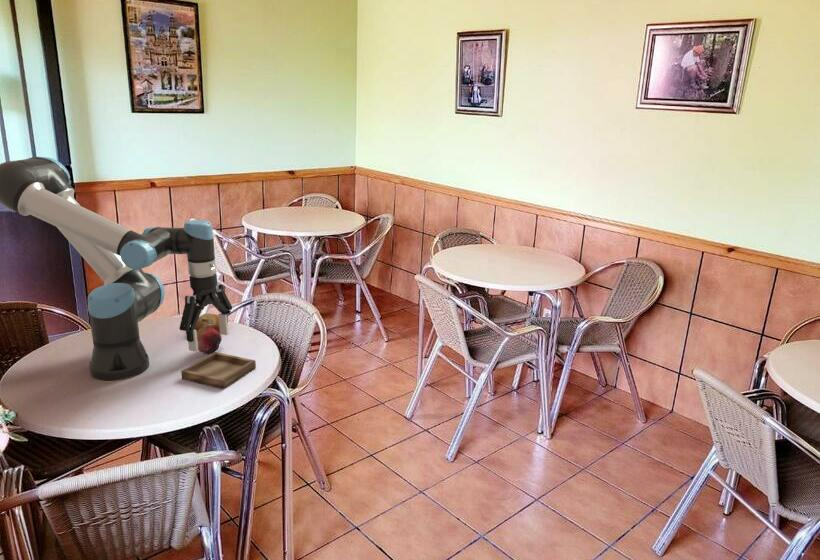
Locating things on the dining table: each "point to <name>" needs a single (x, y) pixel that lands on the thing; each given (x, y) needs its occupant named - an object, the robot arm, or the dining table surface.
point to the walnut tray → (218, 370)
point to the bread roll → (208, 321)
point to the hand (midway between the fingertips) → (209, 342)
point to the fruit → (208, 340)
